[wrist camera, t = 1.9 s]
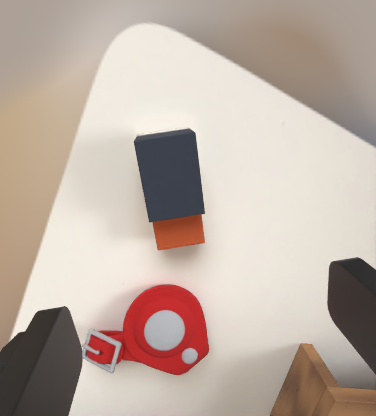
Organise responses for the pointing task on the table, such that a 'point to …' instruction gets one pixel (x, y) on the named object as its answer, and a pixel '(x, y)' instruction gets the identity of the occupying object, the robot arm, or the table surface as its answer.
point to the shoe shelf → (319, 391)
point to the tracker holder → (154, 333)
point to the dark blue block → (172, 186)
